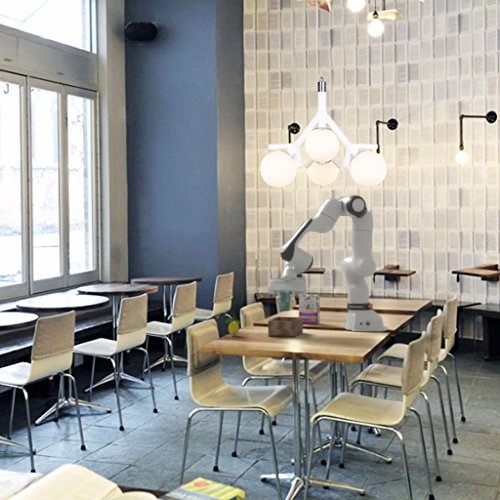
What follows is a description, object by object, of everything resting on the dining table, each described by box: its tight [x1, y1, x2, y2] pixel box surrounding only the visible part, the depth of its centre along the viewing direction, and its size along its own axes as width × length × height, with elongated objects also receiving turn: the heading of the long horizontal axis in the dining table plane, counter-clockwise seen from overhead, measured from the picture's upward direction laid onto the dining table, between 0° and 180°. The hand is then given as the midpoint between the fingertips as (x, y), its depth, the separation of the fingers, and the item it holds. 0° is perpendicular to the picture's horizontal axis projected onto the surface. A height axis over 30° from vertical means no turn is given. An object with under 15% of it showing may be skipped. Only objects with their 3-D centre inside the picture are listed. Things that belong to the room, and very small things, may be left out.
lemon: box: [224, 317, 242, 337], centre depth 409 cm, size 7×6×10 cm
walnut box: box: [267, 316, 304, 338], centre depth 412 cm, size 14×17×8 cm
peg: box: [280, 291, 291, 312], centre depth 411 cm, size 4×4×10 cm
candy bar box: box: [298, 294, 321, 325], centre depth 451 cm, size 11×5×16 cm, turn 68°
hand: (285, 299), depth 410 cm, fingers closed on peg, 4 cm apart
